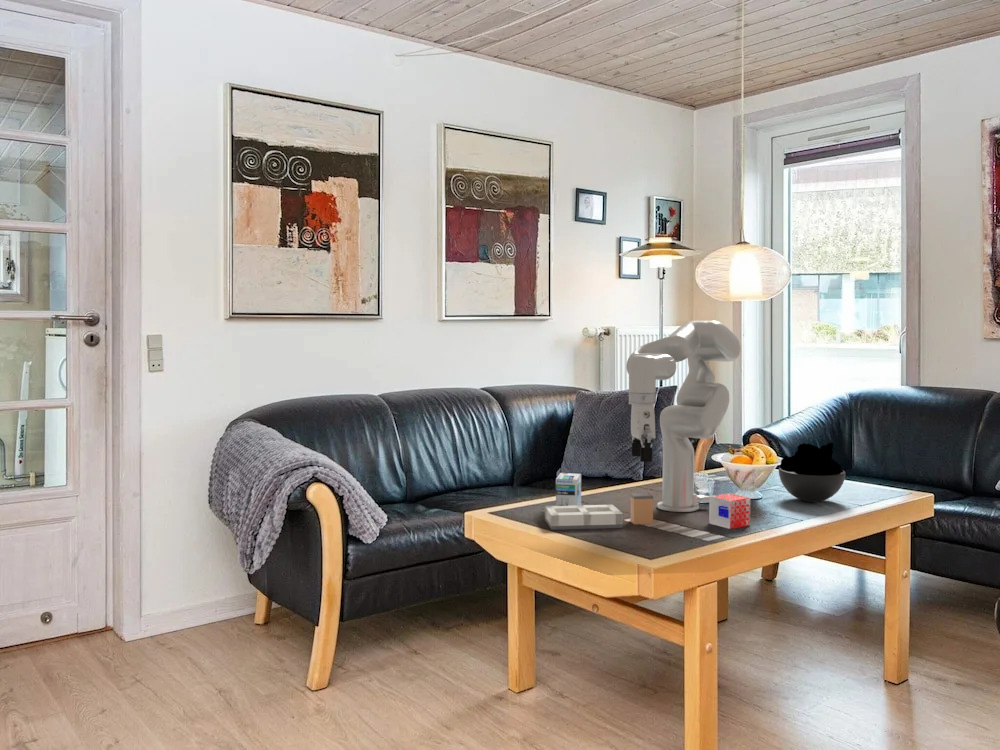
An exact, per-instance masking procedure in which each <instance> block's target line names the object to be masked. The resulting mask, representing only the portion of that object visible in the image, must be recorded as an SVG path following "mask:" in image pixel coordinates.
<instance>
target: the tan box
mask: <svg viewBox="0 0 1000 750" xmlns="http://www.w3.org/2000/svg"><path fill="white" fill-rule="evenodd" d="M629 516H630V517H629V519H630V521H629V522H630V523H632V525H653V524H654V495H653V494H651V493H650V492H649V493H648V492H646V493H645V492H644V493H642V492H640V493H639V492H638V493H630V515H629Z"/></svg>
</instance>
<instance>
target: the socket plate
mask: <svg viewBox="0 0 1000 750" xmlns="http://www.w3.org/2000/svg"><path fill="white" fill-rule="evenodd" d="M623 515H624V514H623V512H622V511H621V510H619V508H617V507H616V506H615V505H614V504H585V505H584V504H581V505H574V506H556V505H545V506H544V522H545V523H546V524H547V525H548V527H549V528H550V530H551V531H552V530H553V531H554V530H562V531H563V530H591V529H594V530H596V529H623V528H624V527H623V524H624V516H623Z"/></svg>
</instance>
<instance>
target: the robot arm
mask: <svg viewBox="0 0 1000 750" xmlns="http://www.w3.org/2000/svg"><path fill="white" fill-rule="evenodd" d="M740 353H741V343H740V340H739V338H738V336H737V335H736V334H735V333H734V332H733V331H732V330H731V329H730V328H728V326H726V325H725V324H724V323H722V322H720V321H718V320H689V321H686V322H685V323H683V324H682V325H680V326H679V327H678V328H677V329H676V330H674V331H673V332H672V333H671V334H670V335H669V336H665V337H662V338H659V339H657V340H654V341H653V340H652V341H651V342H650V341H649V342H648V343H645V344H643V345H641V346H640V347H638V348H636V349H635V350H634V351H633V352H632V353H631V354H630V355H629V357H628V359H627V361H626V363H625V364H626V372H627V374H628V405H631V411H630V434H631V436H632V437H631V457H639V460H640V462H642V463H651V462H653V440H655V439H656V417H655V416H656V414H655V405H656V404H657V403H656V399H657V398H656V397H657V395H656V393H657V391H656V390H657V381H667V380H670V379H671V378H673V377H674V375H675V374H676V371H677V363H679V362H682V361H685V360H686V359H687V365H688V373H687V376H686V378H685V379H684V381H683V383H682V385H681V387H680V389H679V390H678V393H677V395H676V399H675V400H676V404H673V405H668V406H666V407H664V408H663V409H662V410H661V412H660V415H659V427H660V430H661V438H662V482H661V483H662V488H661V489H662V492H661V493H662V496H661V501H659V502H657V504H656V507H657V509H659V510H662V511H667V512H672V513H673V512H674V513H688V512H689V513H690V512H695V511H698V510H699V509H700V505H699V504H700V503H709V495H702V494H699V495H698V494H696V493H695V449H694V446H693V444H692V442H691V441H690V439H689V438H693V439H700V440H701V439H702V440H704V439H711V438H713V437H714V436H715V435H716V433H717V431H718V430H719V428H720V425H721V423H722V421H723V419H724V418H725V415H726V413H727V411H728V408H729V405H730V392H729V390H728V387H727V386H726V385H724V384H722V383H719V382H715V380H716V378H715V374H714V371H713V369H712V368H711V367H710V366H709V365H708V363H707V362H733V361H735V360H737V359H738V357H739V356H740Z"/></svg>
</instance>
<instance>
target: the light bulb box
mask: <svg viewBox="0 0 1000 750" xmlns="http://www.w3.org/2000/svg"><path fill="white" fill-rule="evenodd" d="M574 505H582V474H581V473H568V472H567V473H566V472H560V473H559V474H558V475H557V477H556V478H555V506H574Z"/></svg>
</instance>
